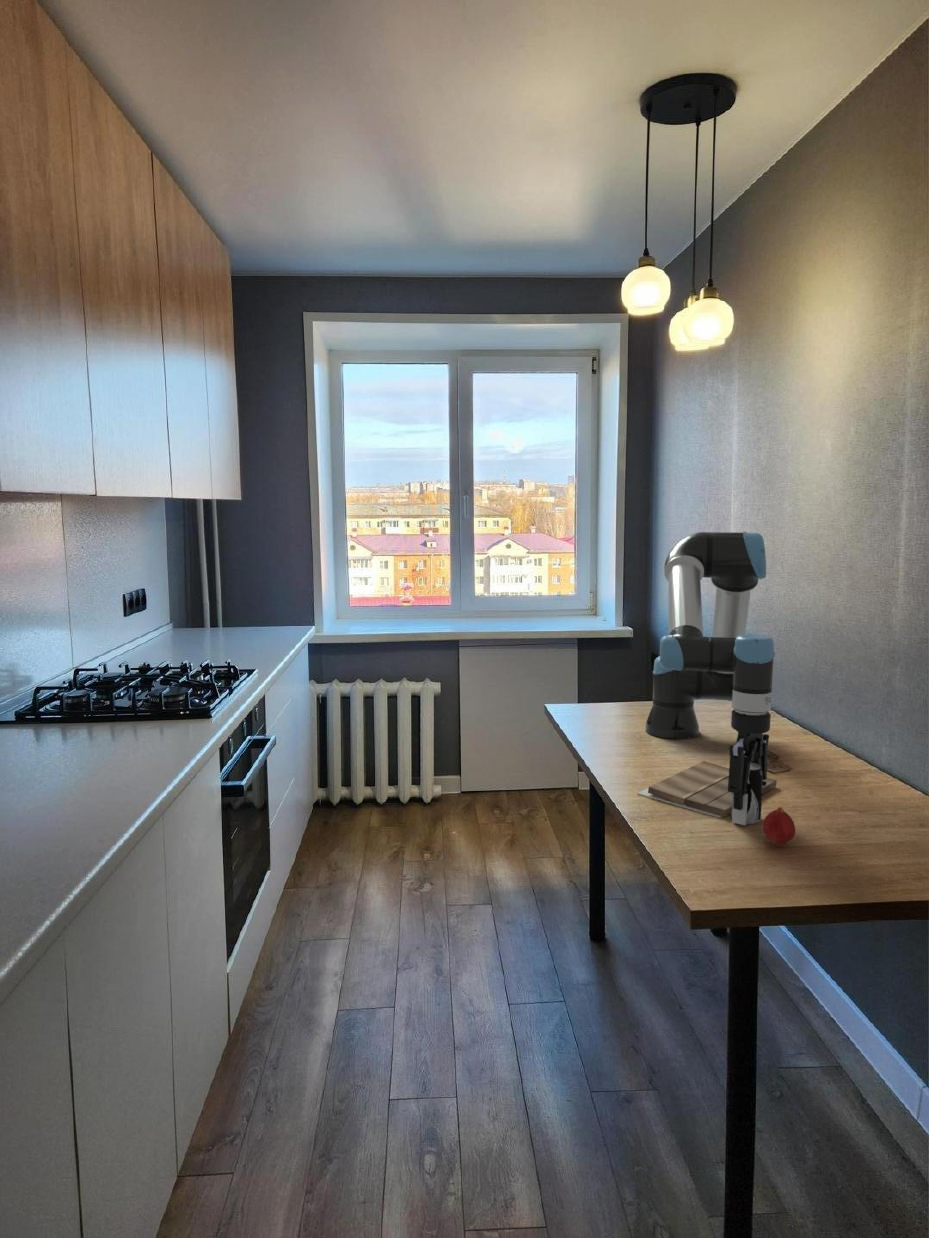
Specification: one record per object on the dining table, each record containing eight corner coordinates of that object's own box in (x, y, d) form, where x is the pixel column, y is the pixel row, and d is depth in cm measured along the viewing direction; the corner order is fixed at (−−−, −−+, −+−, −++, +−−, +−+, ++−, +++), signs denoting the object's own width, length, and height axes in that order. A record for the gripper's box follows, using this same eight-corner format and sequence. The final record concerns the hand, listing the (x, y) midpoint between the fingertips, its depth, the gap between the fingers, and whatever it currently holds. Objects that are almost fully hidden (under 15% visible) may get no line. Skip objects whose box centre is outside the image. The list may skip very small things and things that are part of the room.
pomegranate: (756, 840, 151) (758, 801, 150) (784, 839, 151) (786, 800, 150) (770, 853, 145) (772, 812, 144) (799, 852, 146) (802, 811, 145)
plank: (703, 766, 193) (704, 760, 193) (737, 776, 187) (738, 770, 187) (648, 792, 175) (648, 786, 175) (684, 805, 169) (684, 798, 168)
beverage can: (725, 818, 162) (727, 763, 160) (744, 813, 165) (746, 758, 163) (747, 827, 157) (750, 771, 156) (766, 822, 160) (769, 766, 158)
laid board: (739, 777, 187) (739, 770, 186) (776, 786, 180) (776, 779, 180) (685, 805, 168) (685, 798, 168) (724, 816, 162) (725, 809, 162)
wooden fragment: (798, 775, 190) (798, 771, 190) (752, 774, 190) (753, 770, 190) (764, 745, 215) (764, 741, 215) (724, 744, 216) (724, 741, 216)
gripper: (748, 722, 149) (743, 837, 152) (788, 705, 162) (782, 811, 165) (712, 715, 154) (707, 826, 157) (753, 699, 167) (748, 802, 170)
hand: (746, 818), depth 161 cm, fingers closed on beverage can, 6 cm apart
